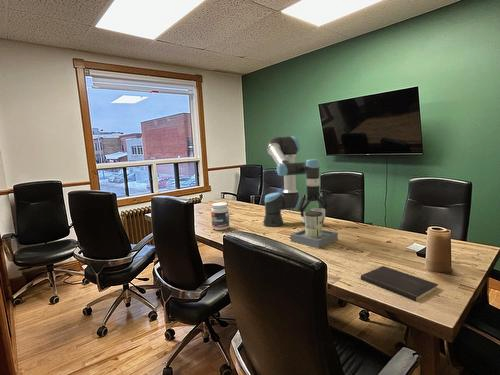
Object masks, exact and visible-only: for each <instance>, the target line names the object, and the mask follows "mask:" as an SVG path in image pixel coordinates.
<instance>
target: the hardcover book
mask: <svg viewBox="0 0 500 375" xmlns="http://www.w3.org/2000/svg"><path fill="white" fill-rule="evenodd" d="M360 281H363V282H366V283H368V284H370V285H373V286H375V287H378V288H381V289H384V290H385V291H389V292H391V293H393V294H396V295H398V296H401V297H404V298H405V299H408V300H411V301H413V302H415V303H416V302H417V301H419V300H420V299H421V298H423V297H425V296H427V295H429V294H431V293H432V292H434V291H435V290H437V289H438V288H437V287H438V286H439V283H435V282H433V281H429V280H426V279H424V278H421V277H417V276H414V275H411V274H408V273H405V272H402V271H399V270H397V269H394V268H391V267H388V266H384V265H381V266H380V267H377V268H375V269H373V270H371V271H367V272H366V273H363V274H361V275H360Z"/></svg>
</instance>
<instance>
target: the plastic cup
mask: <svg viewBox="0 0 500 375" xmlns="http://www.w3.org/2000/svg"><path fill="white" fill-rule="evenodd" d="M321 208H322V207H312V208H310V211H318V212H322V210H321ZM324 221H325V220H324V219H322V226H323V225H324Z"/></svg>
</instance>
